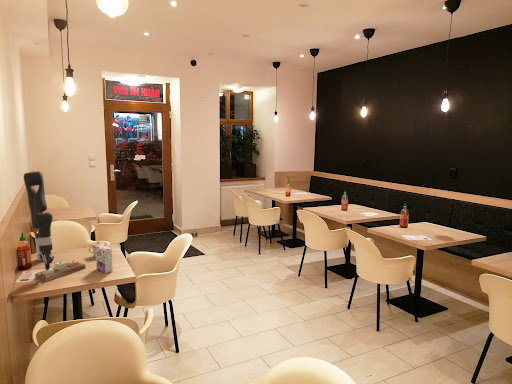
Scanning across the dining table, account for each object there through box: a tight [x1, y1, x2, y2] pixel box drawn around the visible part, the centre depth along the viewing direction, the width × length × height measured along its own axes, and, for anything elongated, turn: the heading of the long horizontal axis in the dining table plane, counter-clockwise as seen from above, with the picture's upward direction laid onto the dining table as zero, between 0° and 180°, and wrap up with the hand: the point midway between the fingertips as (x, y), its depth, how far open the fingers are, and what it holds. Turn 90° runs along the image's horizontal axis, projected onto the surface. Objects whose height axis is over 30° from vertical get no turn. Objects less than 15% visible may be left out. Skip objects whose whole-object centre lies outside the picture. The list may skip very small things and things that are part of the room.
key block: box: [34, 262, 86, 282], centre depth 258 cm, size 12×28×3 cm, turn 150°
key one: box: [41, 267, 54, 275], centre depth 250 cm, size 5×5×4 cm
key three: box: [66, 259, 80, 267], centre depth 266 cm, size 5×5×4 cm
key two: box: [54, 261, 67, 271], centre depth 258 cm, size 5×5×4 cm
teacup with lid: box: [88, 240, 106, 258], centre depth 295 cm, size 12×9×12 cm
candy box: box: [95, 244, 114, 274], centre depth 262 cm, size 14×6×16 cm, turn 45°
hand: (47, 269), depth 250 cm, fingers closed
